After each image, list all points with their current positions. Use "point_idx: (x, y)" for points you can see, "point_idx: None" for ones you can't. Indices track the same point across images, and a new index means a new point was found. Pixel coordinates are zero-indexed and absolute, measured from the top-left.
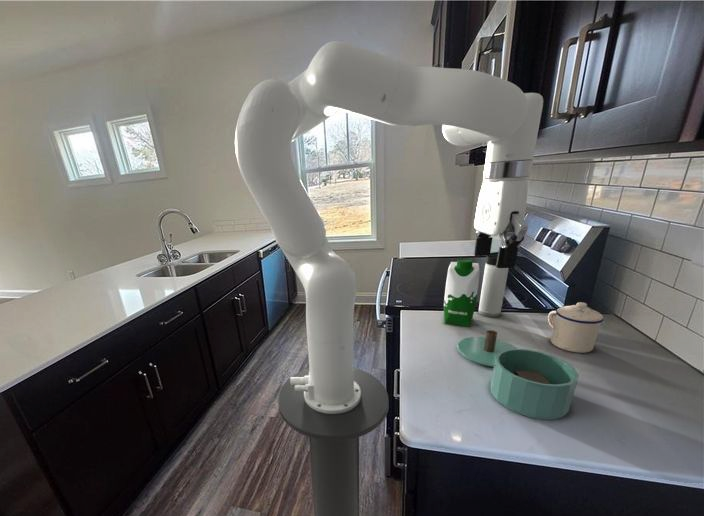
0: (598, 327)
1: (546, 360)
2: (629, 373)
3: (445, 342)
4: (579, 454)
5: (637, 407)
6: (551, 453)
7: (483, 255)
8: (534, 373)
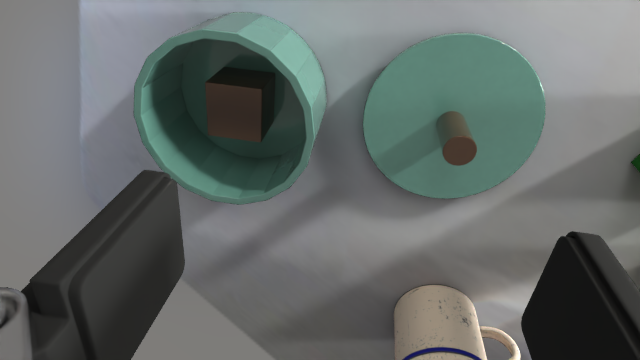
0: None
1: (274, 181)
2: (315, 314)
3: (565, 23)
4: (92, 71)
5: (220, 248)
6: (85, 22)
7: (537, 286)
8: (247, 128)
